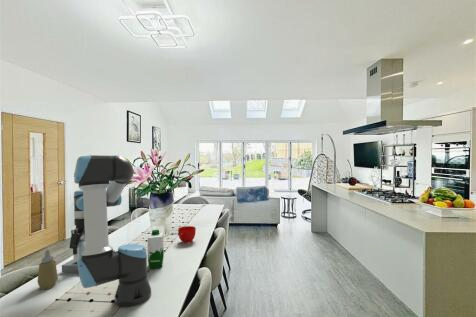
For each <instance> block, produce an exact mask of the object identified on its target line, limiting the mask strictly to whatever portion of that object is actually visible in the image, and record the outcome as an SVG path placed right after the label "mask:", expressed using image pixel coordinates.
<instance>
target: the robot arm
mask: <svg viewBox="0 0 476 317" xmlns="http://www.w3.org/2000/svg"><path fill="white" fill-rule="evenodd" d="M134 172H135V171H134V167H133V165H132V164H131V162H130V161H129V160H128V159H127V158H125V157H123V156H120V155H98V154H97V155H92V154H91V155H90V154H89V155H82V156H79V157H78V158H77V160H76V164H75V169H74V179H73V180H74V184H78V188H79V189H80V190H75V191H74V192H73V206H74V208H73V210H74V211H73V218H74V221H73V222H74V226H75V229H71V231H70V233H71V237H70V242H69V249H72V254H73V259H74V260H78V261H77V266H78V272H79V273H78V275H79V276H78V277H79V280H80V284H81V285H82V288H85V289H89V288H92V287H98V286H100V285H103V284H107V283H110V282H113V281H118V286H117V287H116V288H117V289H116V290H115V293H114V294H115V295H114V303H115V305H117V306H119V307H122V308H128V307H135V306H139V305H141V304H143V303H145V302H146V301H148V300H149V299H150V298H151V296H152V288H151V285H150V282H149V279H148V269H147V268H148V267H147V266H148V265H147V264H148V263H147V261H148V253H147V248H146V247H145V245H143V244H138V243H127V244H121V245H120V246H118V249H117V250H115V252H113V250H114V248H113V246H111V245H110V244H109V228H108V227H109V225H108V224H109V223H108V222H109V221H108V208H109V207H117V206H120V205H121V204H122V201H123V200H122V198H123V197H122V193H123V190H124V189H125V187H126V185H127V184H129V182H131V181H132V180H133V177H134ZM83 235H84V238H85V251H84V252H83V253H82V254H81V257H82V258H81V259H79V248H78V244H79V241H80V238H82V236H83Z"/></svg>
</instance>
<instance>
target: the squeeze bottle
mask: <svg viewBox="0 0 476 317" xmlns="http://www.w3.org/2000/svg"><path fill="white" fill-rule="evenodd" d="M58 278H59V276H58V270H57V263H56V260H54V256H53V255H51V254H50V250H49V249H46V250H45V253H44V256H43V257H42V258H41V262H40V263H39V264H38V273H37V284H38V286H39V289H40V290H48V289H51V288H53V287H55V286H56V283H57V281H58Z"/></svg>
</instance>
